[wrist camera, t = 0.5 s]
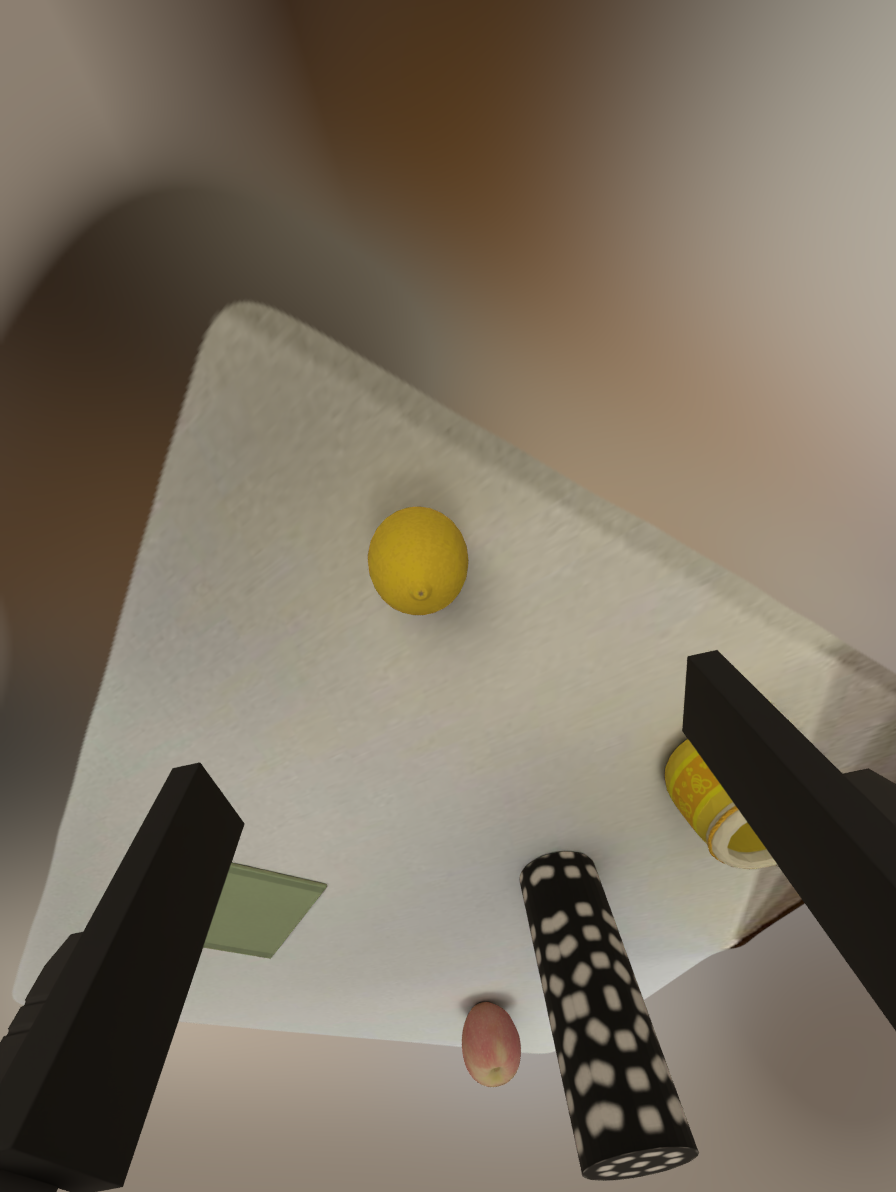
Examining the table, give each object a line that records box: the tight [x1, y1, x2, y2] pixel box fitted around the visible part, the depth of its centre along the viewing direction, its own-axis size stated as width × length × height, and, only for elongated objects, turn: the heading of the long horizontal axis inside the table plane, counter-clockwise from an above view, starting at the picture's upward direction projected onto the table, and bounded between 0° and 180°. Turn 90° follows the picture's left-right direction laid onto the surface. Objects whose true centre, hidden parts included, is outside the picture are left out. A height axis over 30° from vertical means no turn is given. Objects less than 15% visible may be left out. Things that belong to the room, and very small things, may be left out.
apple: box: [462, 1002, 521, 1087], centre depth 61 cm, size 8×8×8 cm
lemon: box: [368, 507, 468, 615], centre depth 25 cm, size 6×6×8 cm
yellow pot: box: [665, 739, 777, 869], centre depth 36 cm, size 13×11×12 cm
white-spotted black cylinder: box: [520, 852, 699, 1181], centre depth 40 cm, size 8×8×20 cm
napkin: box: [203, 863, 327, 959], centre depth 47 cm, size 16×16×1 cm
